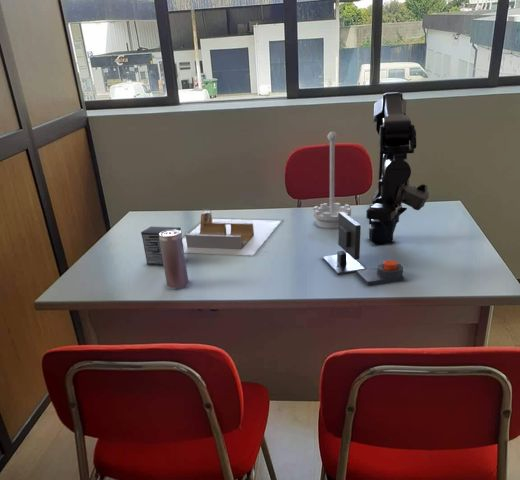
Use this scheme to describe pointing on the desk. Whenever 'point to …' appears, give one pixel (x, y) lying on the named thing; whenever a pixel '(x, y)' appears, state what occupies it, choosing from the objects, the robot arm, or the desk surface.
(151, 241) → the small box
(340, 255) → the monitor stand
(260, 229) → the walled white board
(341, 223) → the screen
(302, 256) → the desk surface
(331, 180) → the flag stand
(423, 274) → the desk surface
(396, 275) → the console
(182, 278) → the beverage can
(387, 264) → the power button
